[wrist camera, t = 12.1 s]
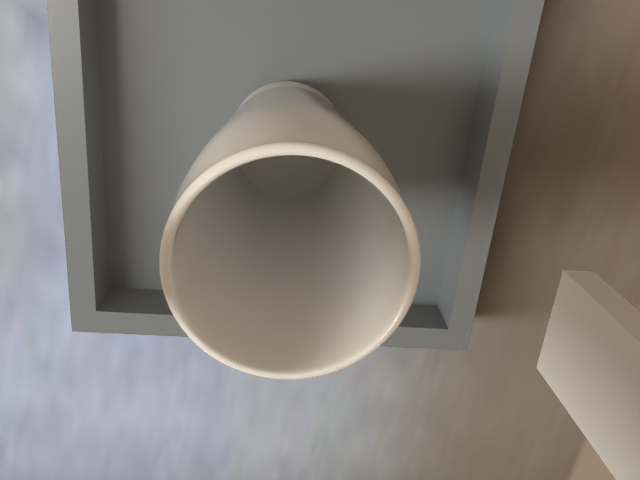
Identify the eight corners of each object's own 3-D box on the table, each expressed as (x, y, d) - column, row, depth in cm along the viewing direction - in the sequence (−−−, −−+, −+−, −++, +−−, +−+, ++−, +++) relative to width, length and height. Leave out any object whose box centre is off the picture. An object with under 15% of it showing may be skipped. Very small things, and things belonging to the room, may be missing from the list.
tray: (92, 297, 33) (72, 331, 29) (67, -126, 25) (35, -142, 22) (449, 316, 34) (466, 350, 31) (528, -73, 27) (562, -81, 23)
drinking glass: (306, 32, 27) (332, 81, 13) (383, 154, 29) (472, 302, 16) (187, 116, 28) (95, 242, 14) (269, 226, 30) (260, 424, 17)
